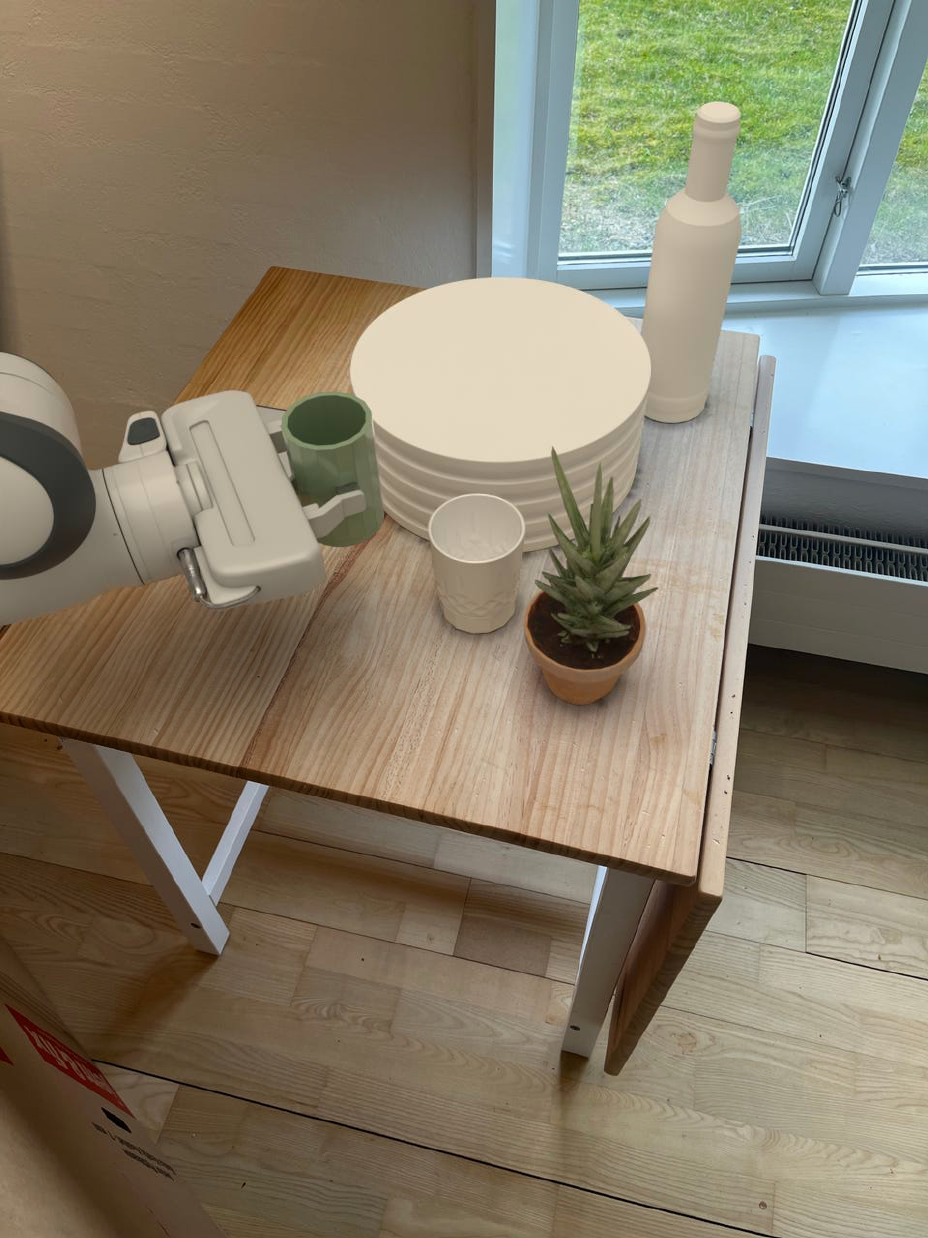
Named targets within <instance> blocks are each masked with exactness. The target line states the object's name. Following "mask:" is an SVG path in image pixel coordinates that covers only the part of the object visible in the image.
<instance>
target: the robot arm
mask: <svg viewBox="0 0 928 1238" xmlns="http://www.w3.org/2000/svg"><path fill="white" fill-rule="evenodd" d="M256 405H257V404H256V403H255V400H254V398H253V396H252V394H251V393H250V392H247V391H242V390H237V389H229V390H223V391H219V392H214V393H211V394H207V395H203V396H199V397H196V398H192V399H189V400H186V401H182V402H180V403H176V404H174V405H172V406H170V407H169V408H167V409H166V410H164V412H163V413H162V415H161V417H160V418H159V415H158V413H156V412H155V411H153V410H144V411H140V412H137V413H134V414H132V415H131V416H129V418H128V420H127V423H126V428H125V432H124V438H123V442H122V446H121V449H120V451H119V455H118V456H117V457H118V458H117V462H118V463H116V464H114V465H110V466H107V467H103V468H99V469H89V468H87V465H86V463H85V461H84V456H83V449H82V443H81V437H80V433H79V430H78V424H77V419H76V415H75V411H74V409H73V405H72V403H71V401H70V400H69V398H68V395H67V394H66V393H65V392H64V390H63V389H62V387H61V385H60V384H59V383H58V381H56V379H55V377H53V376H52V375H51V374H50V372H49V371H47V370H46V369H45V368H43V367H42V366H41V365H39V364H38V363H36V362H35V361H32V360H30V359H29V358H27V357H25V356H22V355H19V354H16V353H13V352H7V351H2V350H0V626H7V625H13V624H18V623H22V622H27V621H32V620H36V619H39V618H44V617H47V616H51V615H55V614H58V613H62V612H65V611H68V610H69V611H70V610H72V609H75V608H78V607H81V606H84V605H86V604H89V603H90V602H92V601H93V600H95V599H96V598H98V597H99V596H102V595H104V594H105V593H108V592H111V591H114V590H119V589H133V588H134V589H135V588H142V587H145V586H149V585H152V584H154V583H159V582H161V581H164V580H165V581H166V580H167V579H170V578H174V577H177V576H181V575H184V576H185V578H186V580H187V584H188V591H189V594H190V597H191V598H192V600H193V601H194V602H196V603H200V605H203V606H204V607H206V608H208V609H211V610H214V611H217V612H223V611H227V610H230V609H233V608H236V607H239V606H249V605H257V604H263V603H268V602H269V603H270V602H274V601H278V600H283V599H287V598H292V597H295V596H300V595H303V594H306V593H310V592H313V591H316V590H317V589H318V588H319V586H321V584H322V583H323V582H324V581H325V580H326V578H327V571H326V564H325V560H324V556H323V552H322V548H321V546H320V543H318V541H317V538H321V537H324V536H327V535H328V534H329V533H330V532H331V531H332V530H333V529H334V528H335V527H336V526H337V525H338V524H339V523H340V522H342V521H343V520H344V519H345V518H344V517H347V516H350V515H353V514H356V513H360V512H362V511H364V510H365V509H366V500H365V496H364V494H363V492H362V490H361V488H360V486H359V485H358V483H356V482H352V483H349V484H348V485H343V486H338V487H335V489H336V494H337V495H336V496H335V497H334V498H332V499H331V500H330V501H328V502H327V503H326V504H325V505H323V506H322V507H321V508H319V506H318V504H316V503H315V504H311V505H308V506H304V507H302V506H301V504H300V501H299V499H298V497H297V495H296V493H295V490H294V488H293V486H292V484H291V481H290V479H289V477H288V475H287V473H286V470H285V468H284V466H283V464H282V462H281V459H280V457H279V455H278V454H279V453H282V452H286V447H285V442H284V438H283V433H282V429H281V425H282V420H276V421H272V422H269V423H265V424H264V422H263V420H262V417H261V415H260V413H259V411H258V409H257V406H256ZM208 597H209V600H207V599H208Z"/></svg>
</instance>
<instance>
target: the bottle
mask: <svg viewBox="0 0 928 1238" xmlns="http://www.w3.org/2000/svg"><path fill="white" fill-rule="evenodd" d="M741 117H742V113H741V111H740V109H739V107H737V106H736V105H734V104H733V103H730V102H726V101H710V102H706V103H704V104H703V105H701V106H700V107H698V108H697V111H696V115H695V119H694V121H693V124H692V128H691V130H692V135H693V136H692V141H691V147H690V152H689V160H688V166H687V173H686V178H685V184H684V188H682V189H681V190H679V191H678V192H676V193H675V194H673V195H672V196H671V197H670V198H668V200H666V202H665V205H664V207H663V209H662V211H661V213H660V215H659V218H658V219H657V222H656V225H655V228H654V237H653V241H652V242H653V243H652V251H651V257H650V264H649V271H648V278H647V279H648V281H647V287H646V294H645V302H644V307H643V315H642V323H641V331H640V335H641V336H642V338H643V340H644V342H645V344H646V346H647V348H648V351H649V355H650V360H651V378H650V385H649V391H648V397H647V404H646V411H645V415H644V417H647V418H649V419H650V420H654V421H657V422H661V423H667V424H668V423H669V424H670V423H671V424H677V423H683V422H688V421H690V420H692V419H695V418H697V417H699V415H700V414H701V413H702V412H703V411H704V409H705V405H706V402H707V399H708V396H709V392H710V388H711V383H712V373H713V369H714V365H715V360H716V354H717V351H718V350H717V349H718V345H719V342H720V341H719V340H720V336H721V331H722V327H723V326H722V325H723V321H724V318H725V312H726V308H727V303H728V299H729V298H728V297H729V293H730V288H731V285H732V284H731V283H732V280H733V275H734V270H735V266H736V260H737V256H738V251H739V246H740V243H741V237H742V233H743V229H742V228H743V227H742V219H741V214H740V208H739V206H738V204H737V202H736V201H735V200H734V199H733V197H732V196H731V195H730V194H729V193H728V192H727V190H728V189H727V188H728V183H729V179H730V173H731V168H732V163H733V158H734V153H735V149H736V142H737V139H738V137H739V134H740V131H741V123H740V121H741Z"/></svg>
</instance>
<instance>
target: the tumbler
mask: <svg viewBox="0 0 928 1238" xmlns="http://www.w3.org/2000/svg"><path fill="white" fill-rule="evenodd" d="M286 410H287V411H286V412H285V414H284V415H283V417H282V425H281V429H282V433H283V438H284V442H285V447H286V451H287V456H288V461H289V465H290V470H291V474H292V479H293V483H294V488H295V492H296V495H297V497H298V499H299V501H300V504H301V506H302V507H304V506H308V505H311V504H315V503H316V504H318V506H319V508H321V507H322V506H323V505H325V504H326V503H327V502H328V501H330V500H331V499H332V498H334V497H335V496H336V495H337V494H336V489H335V487H338V486H343V485H348V484H349V483H352V482H356V483H358V485H359V486H360V488H361V490H362V492H363V494H364V496H365V500H366V509H365V510H364V511H362V512H360V513H356V514H353V515H350V516H347V517H344V518H345V519H344V520H343V521H342V522H340V523H339V524H338V525H337V526H336V527H335V528H334V529H333V530H332V531H331V532H330V533H329V534H328V535H327V536H324V537H321V538H317V541H318V543H319V544H320V545H324V546H325V547H332V548H346V547H353V546H357V545H359V544H362V543H364V542H366V541H368V540H370V539H371V538H372V537H373V536H375V535H376V534H377V533H378V532H379V530H380V529H381V528H382V526H383V523H384V519H385V511H384V509H383V497H382V489H381V481H380V474H379V466H378V458H377V450H376V442H375V434H374V426H373V418H372V412H371V410H370V408H369V407H368V405H367V404H366V402H365V401H363V400H362V399H360V398H358V397H356V396H355V395H353V393H347V392H342V391H337V390H334V391H320V392H316V393H312V394H309V395H306V396H303V397H301V398H300V399H297V400H296V401H295V402H293V403H292V404H291V405H289V407H288V408H287V409H286Z"/></svg>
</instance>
